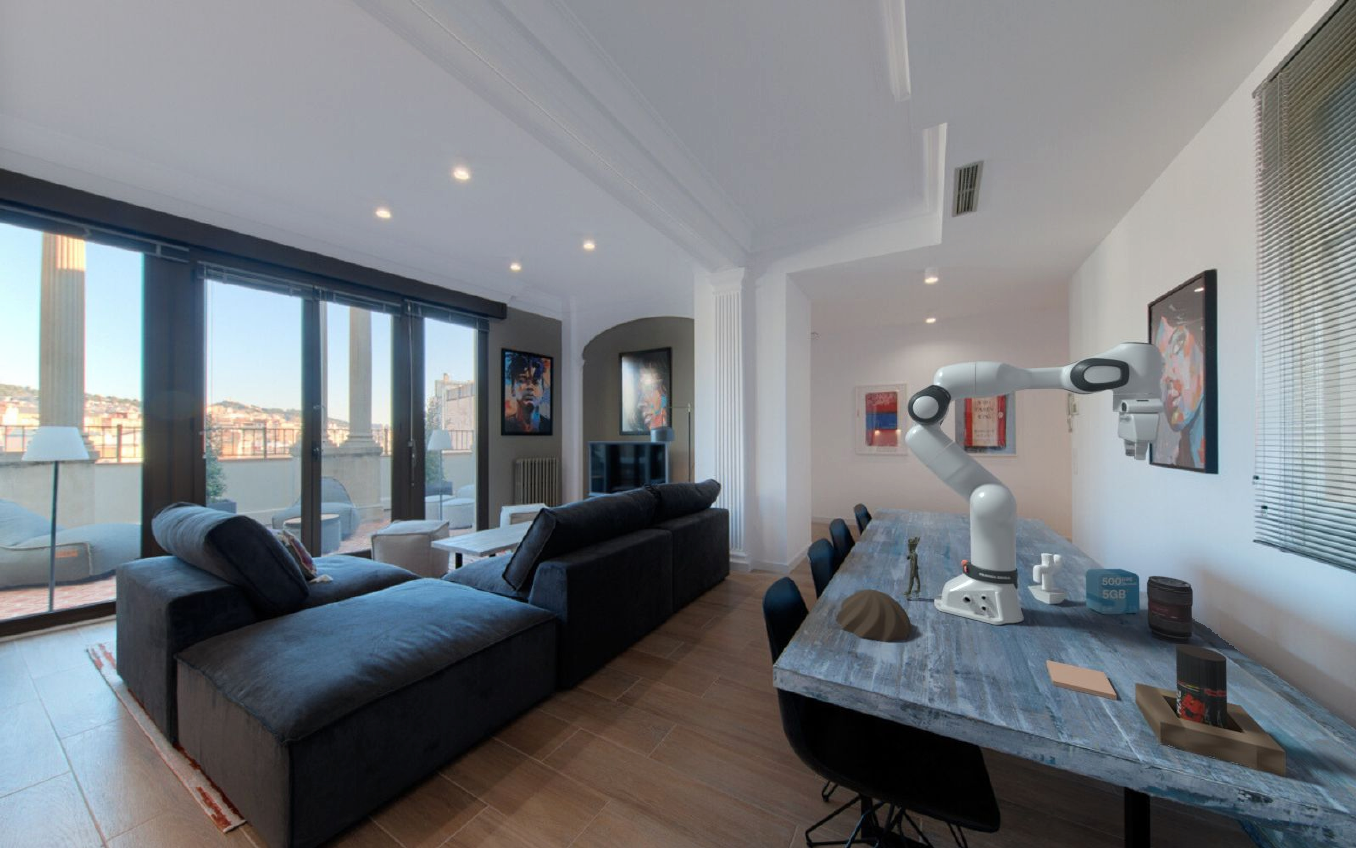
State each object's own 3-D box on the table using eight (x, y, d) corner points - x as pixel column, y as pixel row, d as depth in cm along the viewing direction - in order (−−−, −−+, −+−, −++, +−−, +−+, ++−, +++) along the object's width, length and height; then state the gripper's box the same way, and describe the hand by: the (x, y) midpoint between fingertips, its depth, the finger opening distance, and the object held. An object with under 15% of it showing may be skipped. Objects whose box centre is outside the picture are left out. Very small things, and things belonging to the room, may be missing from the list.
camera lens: (1150, 639, 117) (1149, 581, 117) (1145, 628, 123) (1144, 573, 123) (1197, 648, 112) (1196, 588, 112) (1189, 636, 118) (1188, 579, 118)
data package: (1099, 614, 132) (1099, 574, 132) (1085, 608, 136) (1085, 569, 136) (1140, 614, 132) (1139, 573, 132) (1124, 607, 136) (1124, 568, 136)
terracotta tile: (1053, 685, 97) (1053, 680, 97) (1046, 664, 105) (1046, 660, 105) (1116, 700, 91) (1116, 695, 91) (1103, 676, 100) (1103, 672, 100)
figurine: (1024, 597, 145) (1024, 551, 145) (1049, 595, 147) (1048, 549, 147) (1046, 606, 138) (1046, 558, 138) (1072, 604, 140) (1071, 556, 140)
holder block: (1160, 744, 79) (1160, 721, 79) (1135, 702, 91) (1135, 682, 91) (1285, 777, 71) (1285, 752, 71) (1240, 727, 83) (1240, 705, 83)
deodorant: (1238, 749, 77) (1237, 662, 78) (1197, 744, 79) (1195, 659, 79) (1206, 726, 83) (1204, 646, 83) (1167, 722, 84) (1166, 643, 84)
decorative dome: (839, 607, 140) (838, 575, 140) (910, 618, 131) (910, 584, 131) (831, 634, 122) (831, 597, 122) (913, 648, 114) (913, 609, 114)
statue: (897, 596, 148) (896, 535, 148) (916, 595, 148) (915, 535, 148) (905, 601, 143) (904, 539, 143) (924, 601, 143) (923, 538, 143)
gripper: (1111, 404, 127) (1109, 453, 127) (1129, 405, 110) (1127, 461, 110) (1142, 404, 123) (1141, 454, 124) (1166, 405, 106) (1164, 463, 107)
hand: (1134, 458), depth 117 cm, fingers open, 8 cm apart
